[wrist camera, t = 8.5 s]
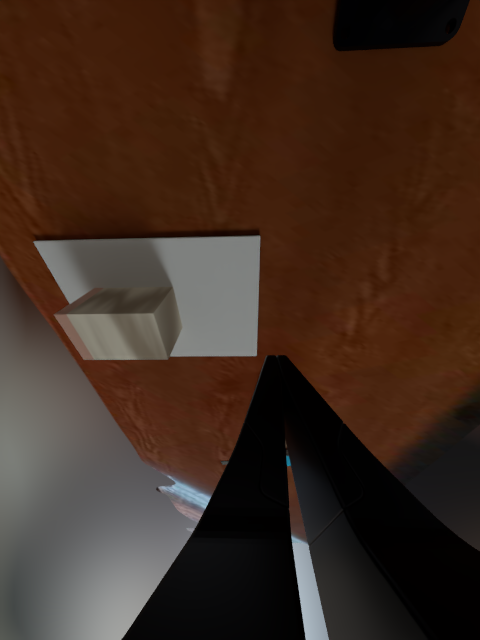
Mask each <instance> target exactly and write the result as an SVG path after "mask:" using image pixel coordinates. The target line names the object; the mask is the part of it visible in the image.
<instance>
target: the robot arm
mask: <svg viewBox="0 0 480 640" xmlns="http://www.w3.org/2000/svg"><path fill="white" fill-rule="evenodd" d="M469 1H470V0H339V3H338V9H337V16H336V23H335V30H334V36H333V44H334V47H335V49H336V50H338V51H352V50H371V49H390V48H409V47H428V46H441V45H443V44H445V43H446V42H448V41H449V40H450V39H451V38H453V37H454V36H455V34H456V33H457V32H458V30H459V28H460V26H461V23H462V20H463V17H464V15H465V12H466V9H467V6H468V4H469ZM447 23H448V24H449V25H450V30H449V32H448V34H447V33H446V32H445V28H446V25H447ZM343 29H345V30H346V31H347V39H345V40H344V39H342V38H341V30H343ZM285 441H286V442H285ZM286 445H287V450H288V454H289V459H290V463H291V468H292V473H293V477H294V482H295V486H296V491H297V495H298V500H299V504H300V509H301V514H302V518H303V523H304V527H305V532H306V536H307V541H308V545H309V550H310V554H311V559H312V564H313V569H314V573H315V577H316V582H317V586H318V591H319V596H320V600H321V605H322V609H323V614H324V618H325V623H326V627H327V632H328V637H329V640H480V551H478V550H477V549H475V548H474V547H472V546H471V545H470V544H468V543H467V542H466V541H464V540H463V539H461V538H460V537H458V535H456V534H455V533H454V532H453V531H451V530H450V529H449V528H448V527H447V526H445V525H444V524H443V523H442V522H441V521H440V520H438V519H437V518H436V517H435V516H434V515H433V514H432V513H431V512H430V511H429V510H428V509H427V508H426V507H425V506H424V505H423V504H422V503H421V502H420V501H419V500H418V499H417V498H416V497H415V496H414V495H413V494H412V493H411V492H410V491H409V490H408V489H407V488H406V487H405V486H404V485H403V484H402V483H401V482H400V481H399V480H398V479H397V478H396V477H395V476H394V475H393V474H392V473H391V472H390V471H389V470H388V469H387V468H386V467H385V466H384V465H383V464H382V463H381V462H380V461H379V460H378V459H377V458H376V457H375V456H374V455H373V454H372V453H371V452H370V451H369V450H368V449H367V448H366V447H365V446H364V445H363V444H362V442H361V441H360V440H359V439H358V438H357V437H356V436H355V435H354V434H353V432H352V431H351V430H350V429H349V428H348V427H347V425H346V424H343V421H342V420H341V419H340V417H339V416H338V415H337V414H336V413H335V412H334V411H333V409H332V408H331V407H330V406H329V405H328V404H327V402H326V401H325V400H324V399H323V398H322V397H321V395H320V394H319V393H318V392H317V391H316V390H315V389H314V387H313V386H312V385H311V384H310V383H309V382H308V380H307V379H306V378H305V377H304V376H303V375H302V373H301V372H300V371H299V370H298V369H297V368H296V367H295V365H294V364H293V363H292V362H291V361H290V360H289V358H288V357H287V356H285V355H277V356H275V355H267V356H266V359H265V362H264V365H263V368H262V370H261V373H260V376H259V379H258V382H257V385H256V388H255V391H254V394H253V397H252V400H251V403H250V406H249V409H248V412H247V415H246V418H245V421H244V423H243V426H242V429H241V432H240V435H239V438H238V440H237V443H236V446H235V448H234V450H233V453H232V455H231V457H230V459H229V462H228V464H227V466H226V468H225V470H224V472H223V474H222V476H221V478H220V480H219V482H218V484H217V487H216V489H215V491H214V493H213V495H212V497H211V499H210V501H209V503H208V505H207V507H206V509H205V511H204V513H203V515H202V517H201V519H200V521H199V522H198V524H197V526H196V528H195V530H194V531H193V533H192V535H191V537H190V538H189V540H188V541H187V543H186V544H185V546H184V547H183V549H182V550H181V552H180V553H179V555H178V556H177V558H176V559H175V561H174V562H173V564H172V565H171V567H170V568H169V570H168V571H167V573H166V574H165V576H164V578H163V579H162V580H161V582H160V583H159V585H158V586H157V588H156V589H155V591H154V592H153V594H152V595H151V597H150V598H149V600H148V601H147V603H146V604H145V606H144V607H143V609H142V610H141V612H140V613H139V615H138V616H137V618H136V619H135V621H134V622H133V624H132V625H131V627H130V628H129V630H128V631H127V633H126V634H125V636H124V637H123V638H122V640H306V639H305V632H304V625H303V619H302V612H301V604H300V597H299V590H298V583H297V576H296V568H295V561H294V554H293V547H292V538H291V527H290V513H289V495H288V478H287V460H286Z"/></svg>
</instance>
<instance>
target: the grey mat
mask: <svg viewBox="0 0 480 640" xmlns="http://www.w3.org/2000/svg"><path fill="white" fill-rule="evenodd" d="M34 244H35V246H36V247H37V249H38V251H39V252H40V254H41V256H42V258H43V259H44V261H45V263H46V264H47V266H48V268H49V269H50V271H51V273H52V275H53V276H54V278H55V280H56V281H57V283H58V285H59V287H60V288H61V290H62V292H63V293H64V295H65V297H66V298H67V300H68V302H69V304H71V303H72V302H74V301H75V300H77V299H79V298H80V297H82V296H83V295H85V294H86V293H88V292H89V291H91V290H92V289H94V288H129V287H173V289H174V293H175V297H176V301H177V306H178V310H179V314H180V318H181V323H182V327H183V328H182V330H181V332H180V334H179V337H178V339H177V341H176V343H175V346H174V348H173V350H172V352H171V354H170V356H257V328H258V295H259V262H260V235H253V236H211V237H169V238H127V239H85V240H43V241H34Z"/></svg>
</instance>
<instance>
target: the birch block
mask: <svg viewBox="0 0 480 640" xmlns="http://www.w3.org/2000/svg"><path fill="white" fill-rule="evenodd" d="M54 316H55V317H56V319H57V320H58V322H59V323H60V325H61V326H62V328H63V329H64V331H65V332H66V334H67V335H68V337H69V338H70V340H71V341H72V343H73V344H74V346H75V347H76V349H77V350H78V352H79V353H80V355H81V356H82V358H83V359H84V360H149V359H169V357H170V354H171V352H172V350H173V348H174V346H175V343H176V341H177V339H178V337H179V334H180V332H181V330H182V328H183V327H182V323H181V318H180V314H179V310H178V306H177V301H176V297H175V293H174V289H173V287H129V288H94V289H92V290H91V291H89V292H88V293H86V294H85V295H83V296H82V297H80V298H79V299H77V300H75V301H74V302H72V303H71V304H69V305H68V306H66V307H65V308H63V309H62V310H60V311H59V312H57V313H56V314H54Z"/></svg>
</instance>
